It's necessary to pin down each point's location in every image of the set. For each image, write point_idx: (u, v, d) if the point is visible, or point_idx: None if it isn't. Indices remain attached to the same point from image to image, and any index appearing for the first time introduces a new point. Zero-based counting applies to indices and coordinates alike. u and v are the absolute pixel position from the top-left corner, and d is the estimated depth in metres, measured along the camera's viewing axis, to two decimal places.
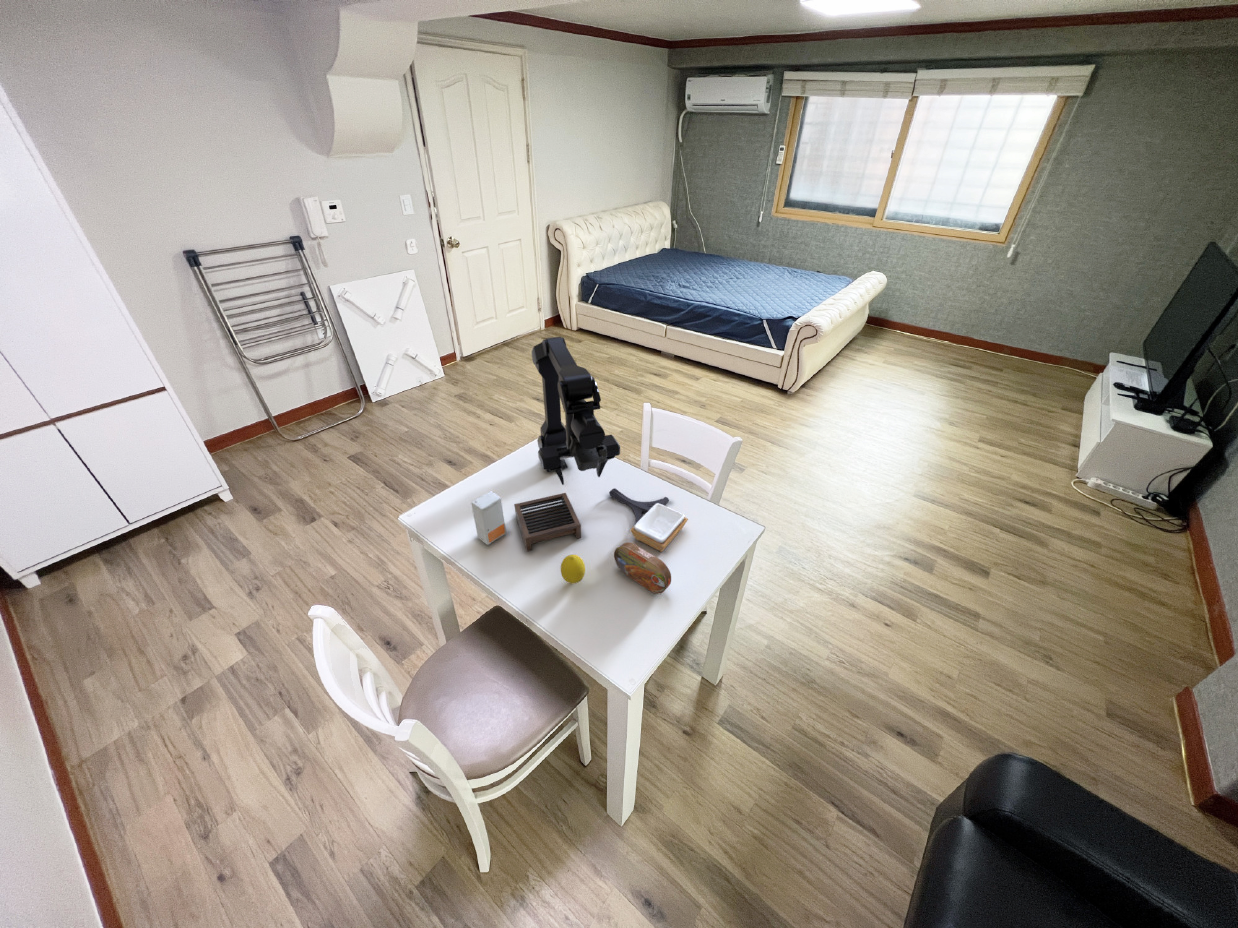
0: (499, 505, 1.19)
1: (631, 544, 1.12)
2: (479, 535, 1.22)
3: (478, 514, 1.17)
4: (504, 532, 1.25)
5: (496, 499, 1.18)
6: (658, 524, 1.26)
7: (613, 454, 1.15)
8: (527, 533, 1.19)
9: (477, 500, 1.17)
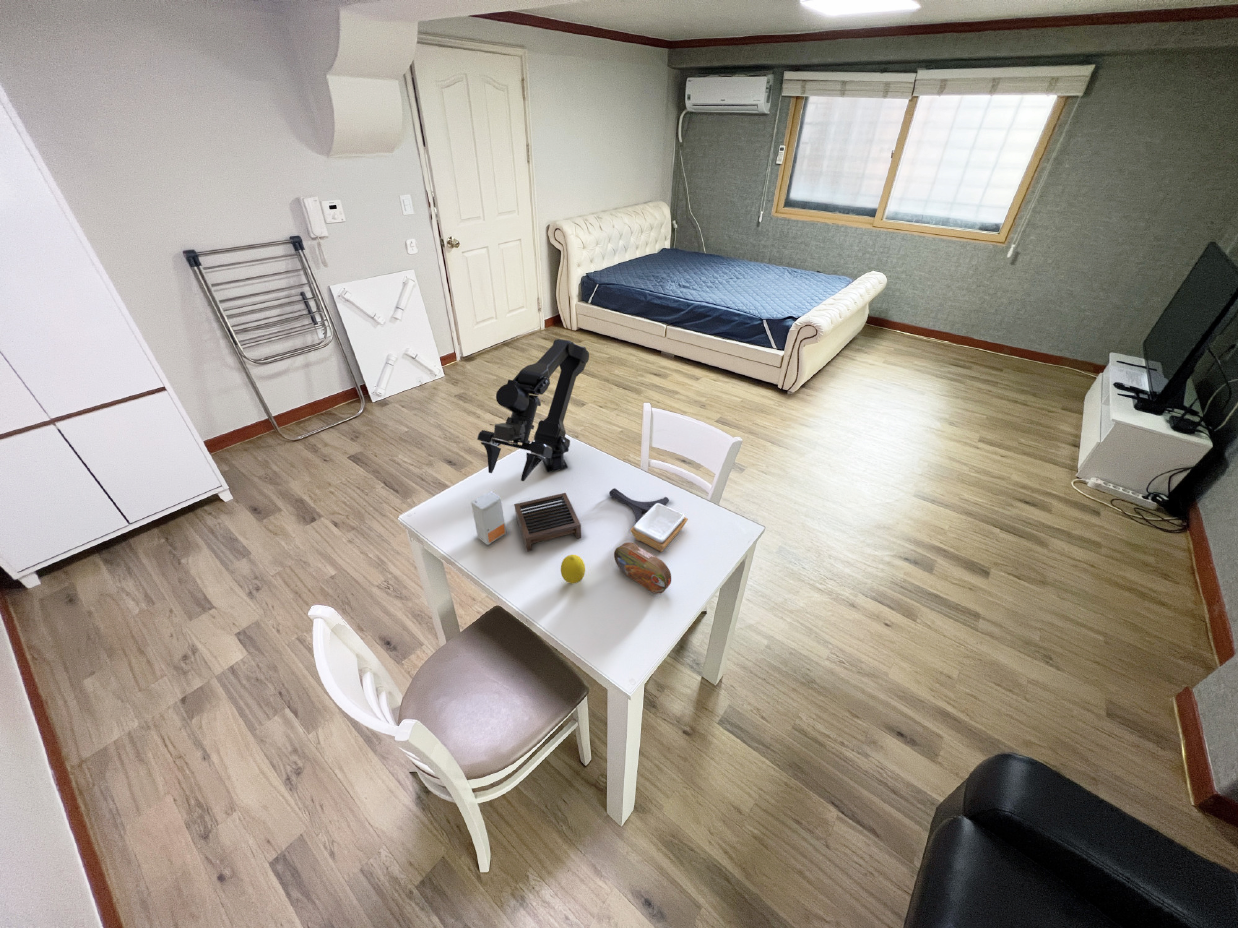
0: (499, 505, 1.19)
1: (631, 544, 1.12)
2: (479, 535, 1.22)
3: (478, 514, 1.17)
4: (504, 532, 1.25)
5: (496, 499, 1.18)
6: (658, 524, 1.26)
7: (535, 450, 1.18)
8: (527, 533, 1.19)
9: (477, 500, 1.17)
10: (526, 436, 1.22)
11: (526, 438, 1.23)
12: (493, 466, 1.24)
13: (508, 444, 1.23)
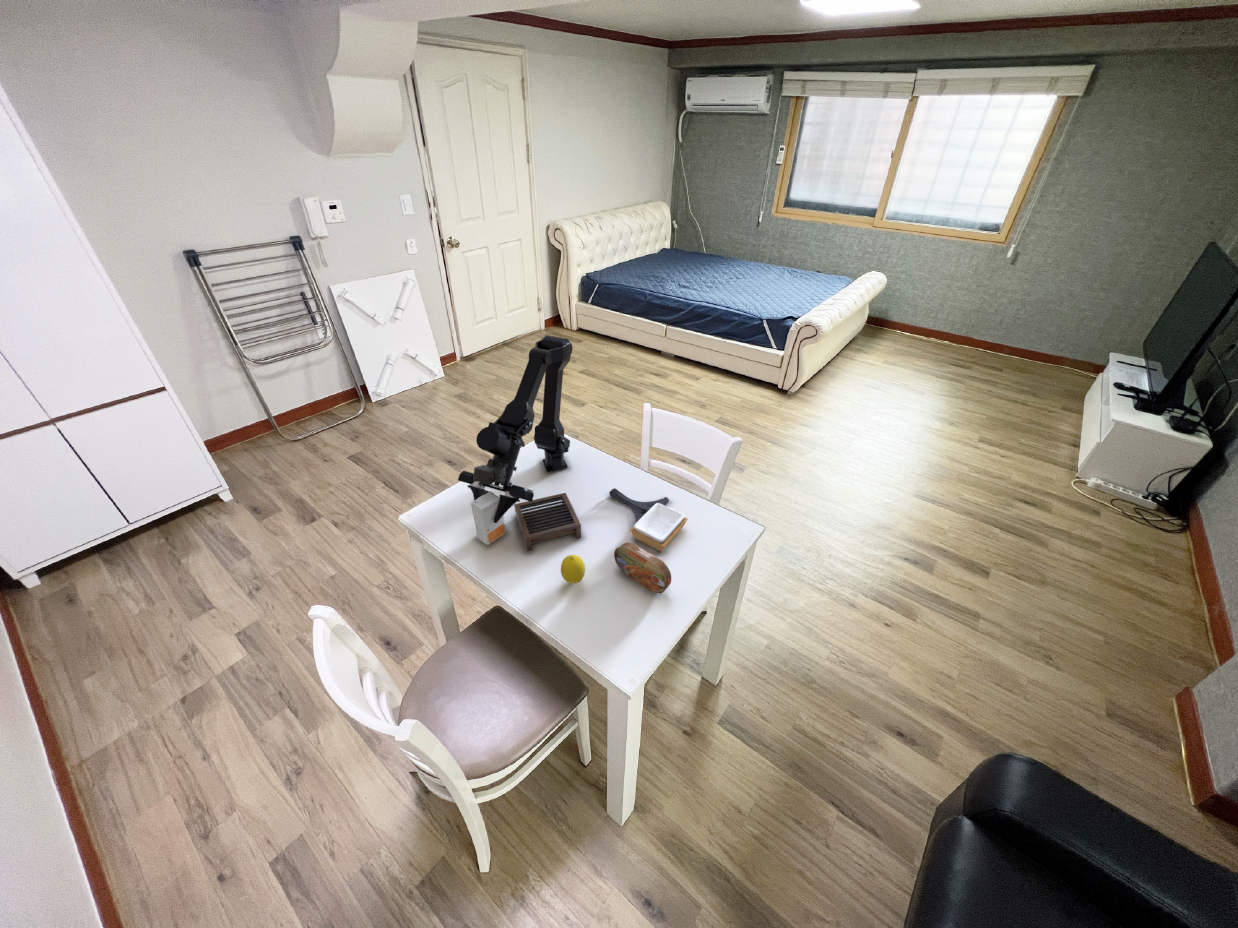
0: None
1: (631, 544, 1.12)
2: (478, 535, 1.22)
3: (478, 514, 1.17)
4: (504, 532, 1.25)
5: (496, 499, 1.18)
6: (658, 524, 1.26)
7: (515, 494, 1.16)
8: (527, 533, 1.19)
9: (477, 500, 1.17)
10: (507, 478, 1.20)
11: (507, 480, 1.20)
12: None
13: (489, 486, 1.21)
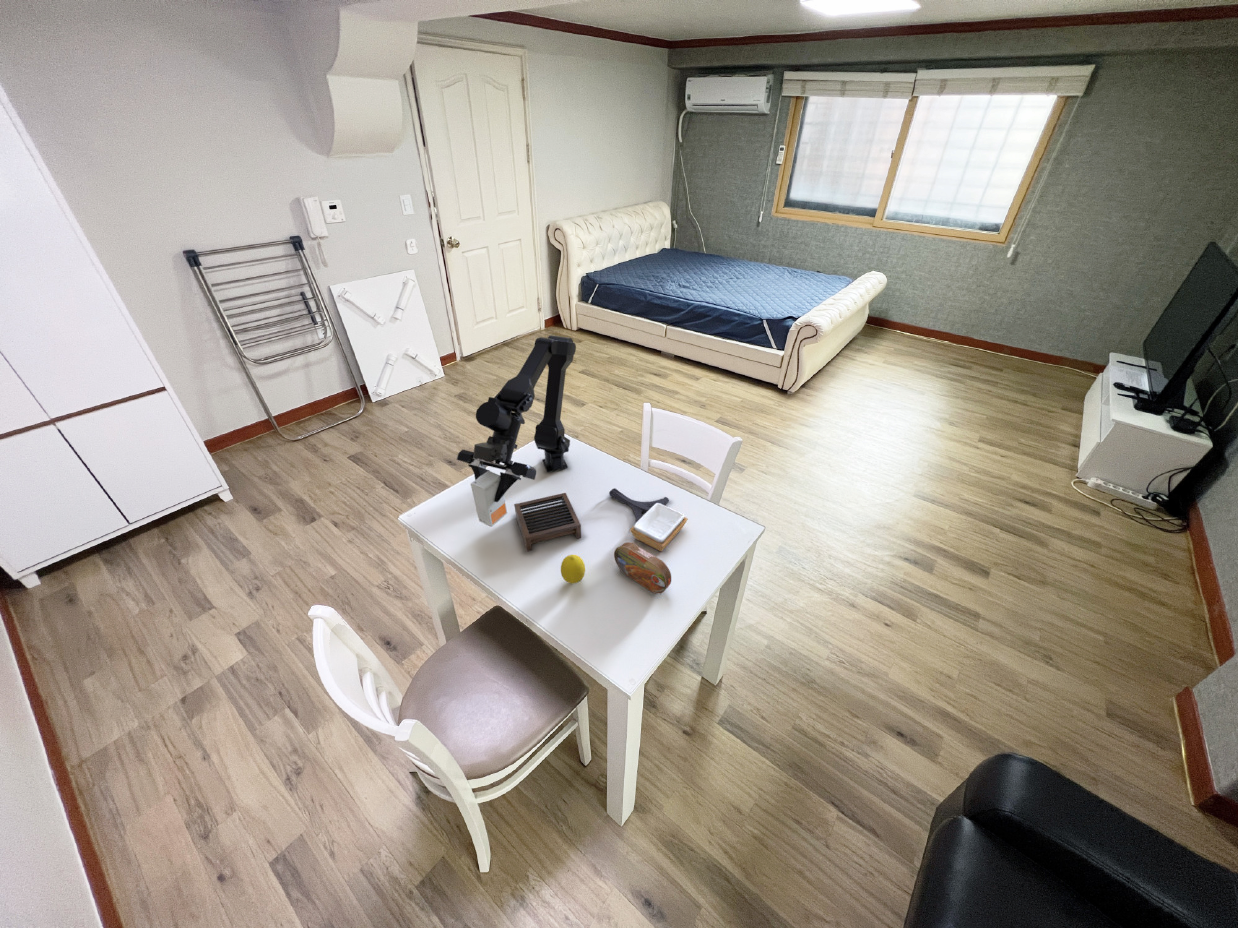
0: None
1: (631, 544, 1.12)
2: (480, 518, 1.18)
3: (480, 495, 1.13)
4: (505, 512, 1.21)
5: (496, 477, 1.14)
6: (658, 524, 1.26)
7: (517, 472, 1.12)
8: (527, 533, 1.19)
9: (476, 481, 1.13)
10: (508, 456, 1.16)
11: (508, 458, 1.16)
12: None
13: (489, 464, 1.17)
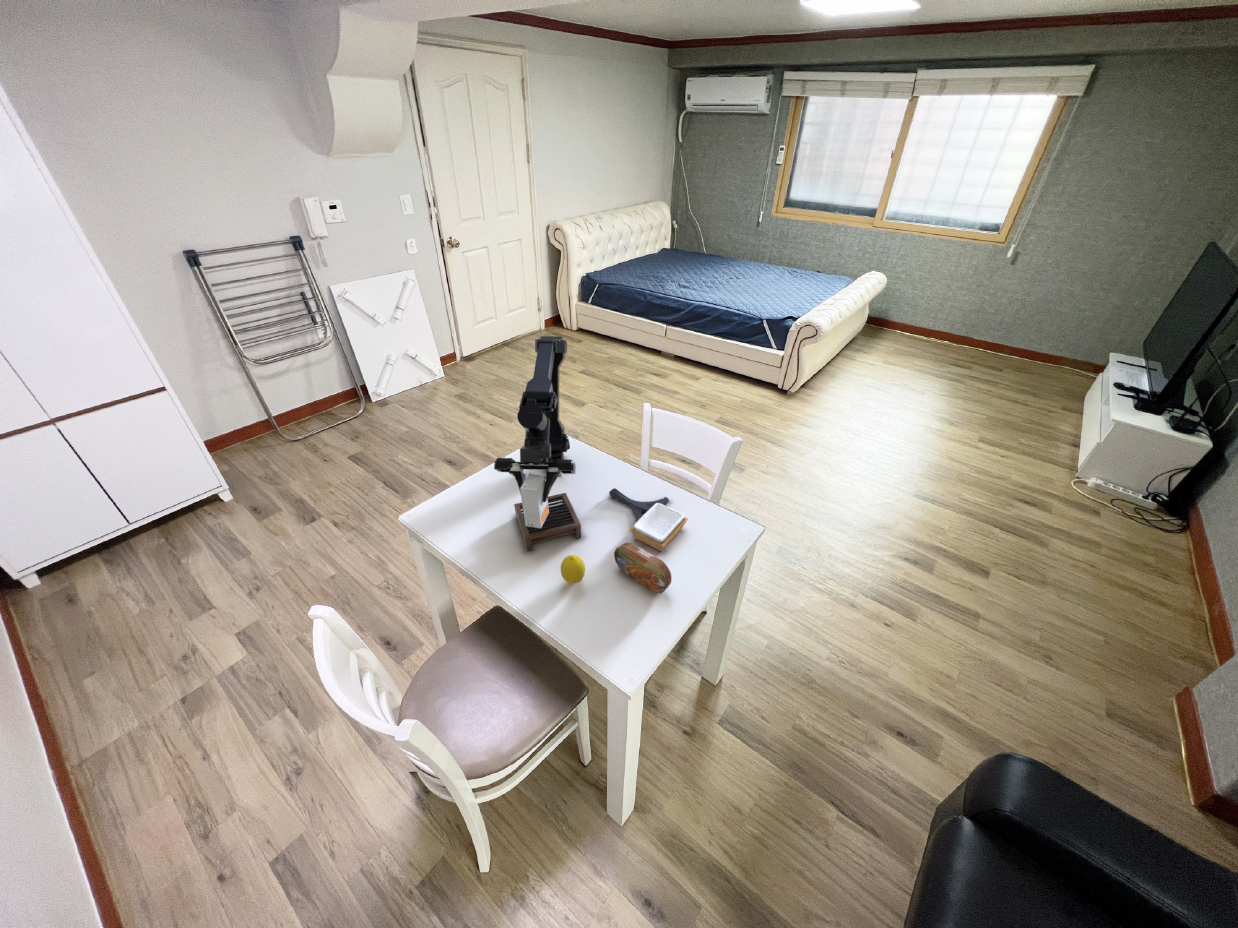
0: (544, 483, 1.16)
1: (631, 544, 1.12)
2: (528, 522, 1.18)
3: (531, 498, 1.13)
4: (548, 512, 1.22)
5: (542, 478, 1.15)
6: (658, 524, 1.26)
7: (564, 468, 1.14)
8: (527, 533, 1.19)
9: (524, 485, 1.13)
10: None
11: (547, 458, 1.17)
12: None
13: (528, 467, 1.17)
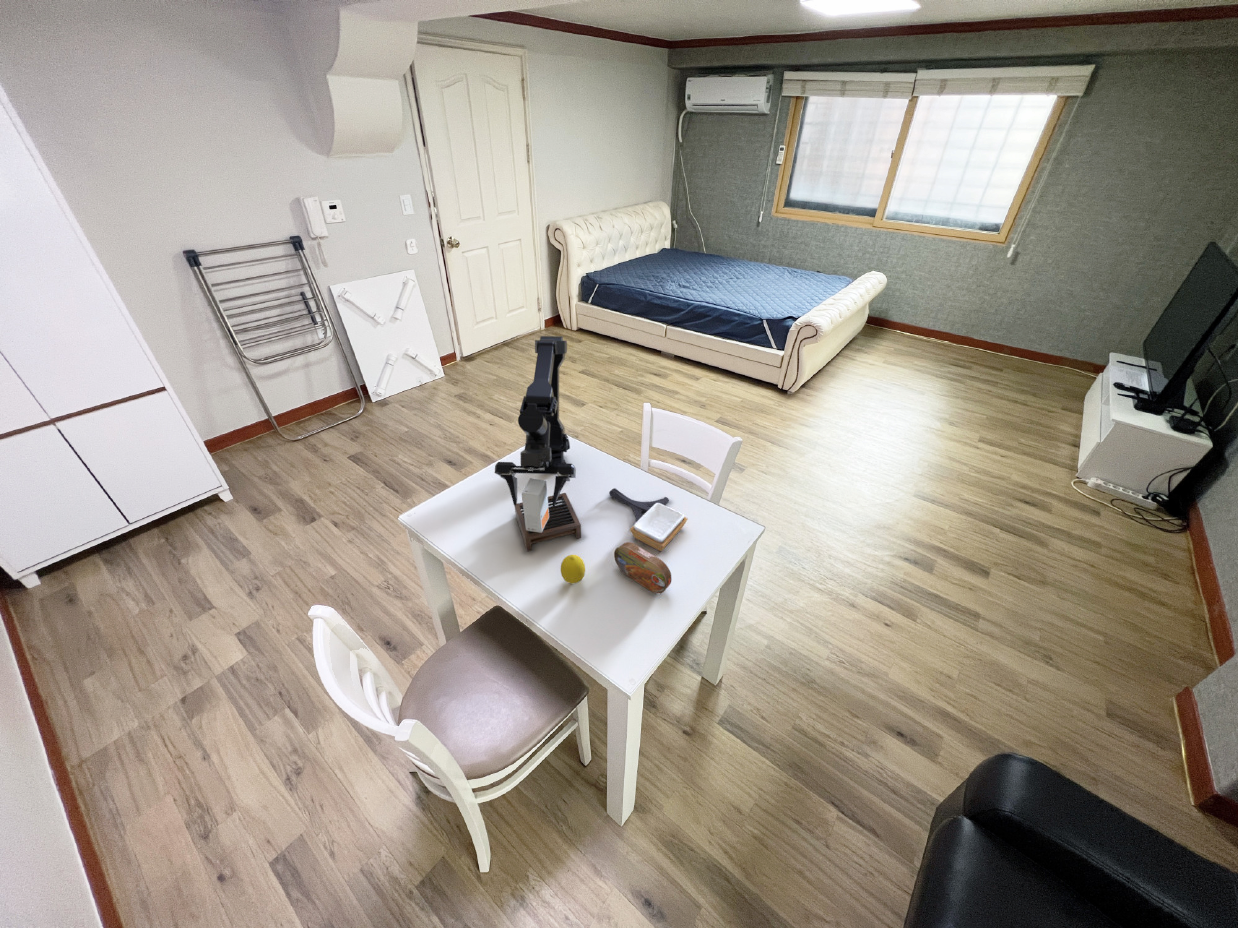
0: (545, 488, 1.17)
1: (631, 544, 1.12)
2: (528, 526, 1.19)
3: (532, 502, 1.14)
4: (548, 516, 1.23)
5: (543, 483, 1.16)
6: (658, 524, 1.26)
7: (565, 472, 1.15)
8: (527, 533, 1.19)
9: (526, 489, 1.14)
10: None
11: (547, 462, 1.18)
12: (516, 497, 1.17)
13: (529, 471, 1.17)
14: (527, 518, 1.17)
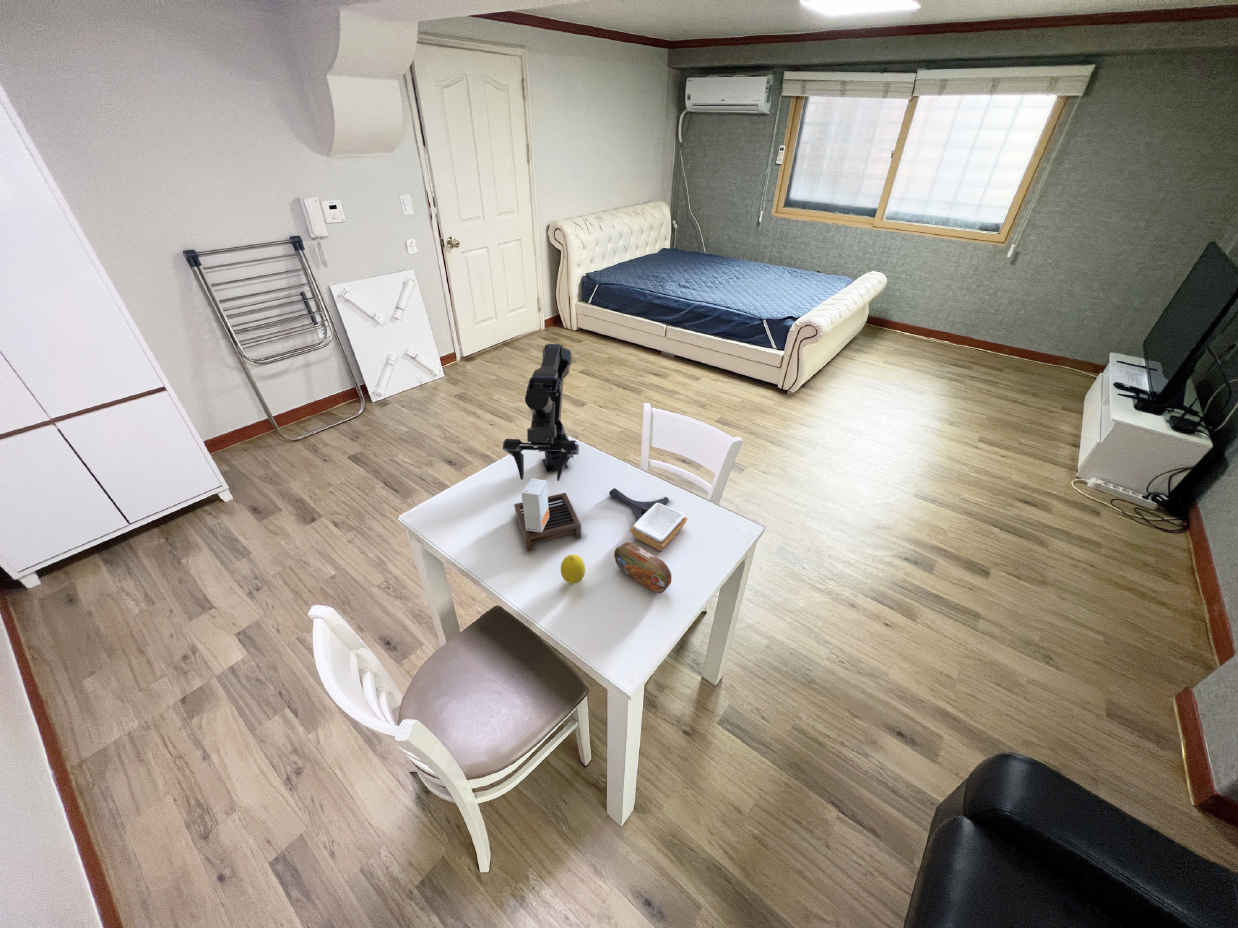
0: (545, 488, 1.17)
1: (631, 544, 1.12)
2: (528, 526, 1.19)
3: (532, 502, 1.14)
4: (548, 516, 1.23)
5: (543, 483, 1.16)
6: (658, 523, 1.26)
7: (569, 448, 1.22)
8: (527, 533, 1.19)
9: (526, 489, 1.14)
10: None
11: (552, 439, 1.25)
12: (523, 472, 1.25)
13: (535, 448, 1.25)
14: (527, 518, 1.17)
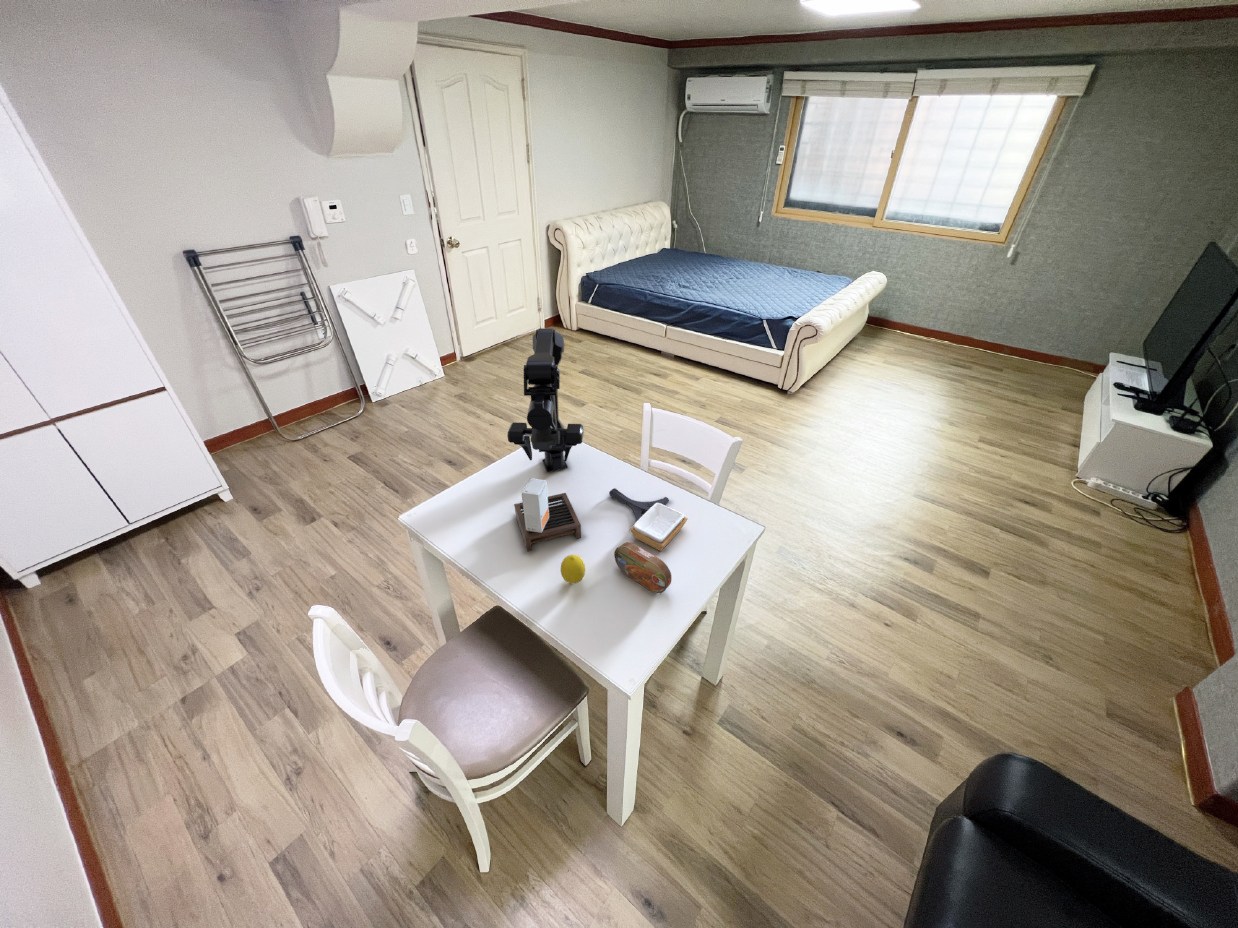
0: (545, 488, 1.17)
1: (631, 544, 1.12)
2: (528, 526, 1.19)
3: (532, 502, 1.14)
4: (548, 516, 1.23)
5: (543, 483, 1.16)
6: (658, 523, 1.26)
7: (574, 442, 1.22)
8: (527, 533, 1.19)
9: (526, 489, 1.14)
10: (556, 425, 1.23)
11: (556, 426, 1.23)
12: (531, 453, 1.29)
13: None
14: (527, 518, 1.17)
